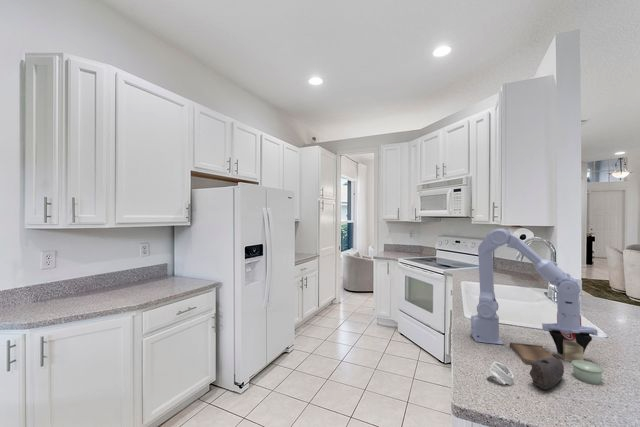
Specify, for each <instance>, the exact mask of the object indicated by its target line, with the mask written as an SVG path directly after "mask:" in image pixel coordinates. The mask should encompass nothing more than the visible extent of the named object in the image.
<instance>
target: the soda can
mask: <svg viewBox="0 0 640 427" xmlns="http://www.w3.org/2000/svg"><path fill="white" fill-rule="evenodd" d="M557 312H558V311H557ZM556 323H558V313H556ZM580 326H582V316H581V314H580ZM560 333H561V334H562V335H563V336H564V339H563V340H568V341H575V342H576V338H575V334H574V333H570V332H560Z"/></svg>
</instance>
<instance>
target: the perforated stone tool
mask: <svg viewBox="0 0 640 427" xmlns="http://www.w3.org/2000/svg"><path fill="white" fill-rule="evenodd" d="M530 366H531V369H530V371H529V376H530V378H531V380H532V383H533V384H534V385H536V387H539V388H540V389H542V390H549V389H552V388H553V387H554V386H556V385H557V384H558V383H559V382H560V381H561V380H562V378H563V376H564V372H565V367H564V363H563V362H562V361H561V360H560V359H558V358H556V357H555V358H544V359H539V360H536V361H534V362H532V363H531V365H530Z"/></svg>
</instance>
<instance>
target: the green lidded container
mask: <svg viewBox="0 0 640 427" xmlns="http://www.w3.org/2000/svg"><path fill="white" fill-rule="evenodd" d="M571 365H572V368H573V369H572V370H573V377H575V378H576V379H577V378H578V379H577V380H579V381H582V382H584V383H588V384H592V385H602V383H603V382H602V381H603V379H602V377H603V376H602V375H603V374H602V373H603V372H604V370H603V367H602V366H600V365H598V364H597V363H594V362H590V361H588V360H584V361H583V360H573V361H572V362H571Z"/></svg>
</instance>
